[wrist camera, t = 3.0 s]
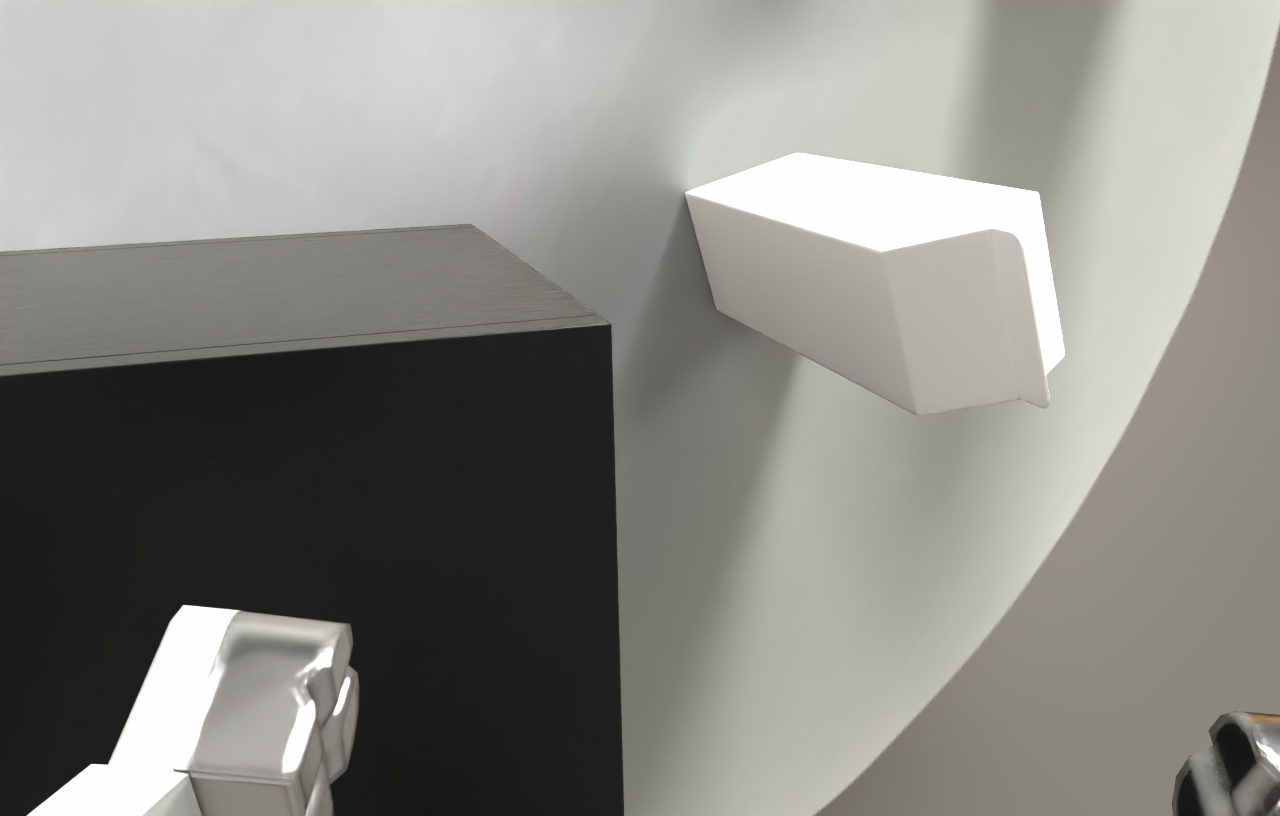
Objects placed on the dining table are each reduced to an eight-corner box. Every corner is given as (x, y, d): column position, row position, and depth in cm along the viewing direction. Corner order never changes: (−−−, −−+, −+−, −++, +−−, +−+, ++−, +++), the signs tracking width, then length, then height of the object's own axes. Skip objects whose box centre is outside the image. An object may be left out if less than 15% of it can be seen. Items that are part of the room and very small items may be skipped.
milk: (715, 310, 57) (965, 450, 37) (682, 189, 55) (929, 268, 35) (827, 268, 59) (1129, 381, 38) (799, 148, 56) (1103, 201, 36)
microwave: (-105, 1010, 54) (-311, 1568, 34) (-282, 268, 45) (-716, 437, 25) (510, 876, 62) (636, 1265, 42) (472, 223, 53) (611, 323, 33)
